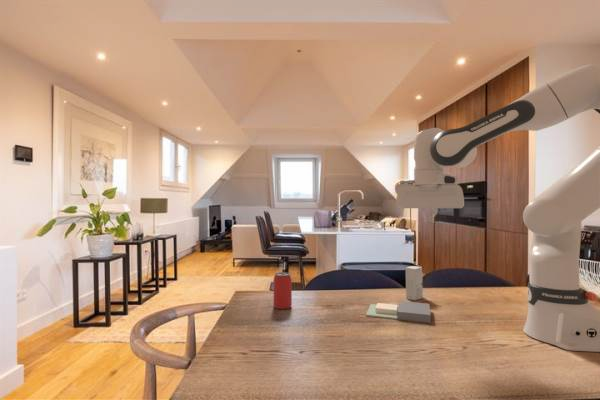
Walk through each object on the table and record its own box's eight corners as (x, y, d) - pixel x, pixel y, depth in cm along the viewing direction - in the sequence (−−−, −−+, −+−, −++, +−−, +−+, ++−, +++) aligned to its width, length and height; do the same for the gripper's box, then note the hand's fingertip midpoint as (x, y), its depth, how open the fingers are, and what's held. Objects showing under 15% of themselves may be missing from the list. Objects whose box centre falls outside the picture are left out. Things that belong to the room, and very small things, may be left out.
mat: (399, 308, 116) (399, 306, 116) (397, 319, 105) (397, 317, 105) (370, 305, 120) (370, 303, 120) (365, 316, 108) (365, 314, 108)
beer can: (292, 304, 121) (292, 272, 121) (290, 310, 115) (290, 276, 115) (275, 304, 122) (275, 271, 122) (272, 309, 115) (271, 275, 116)
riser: (429, 311, 113) (429, 303, 113) (430, 323, 101) (430, 315, 101) (399, 308, 116) (399, 301, 116) (397, 319, 105) (397, 311, 105)
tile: (398, 309, 113) (397, 304, 114) (397, 314, 108) (396, 310, 108) (377, 307, 116) (377, 302, 116) (375, 312, 110) (375, 307, 110)
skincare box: (416, 300, 125) (415, 269, 125) (405, 298, 128) (404, 267, 128) (423, 297, 129) (423, 266, 129) (412, 295, 132) (412, 265, 132)
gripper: (394, 180, 105) (394, 222, 105) (464, 177, 98) (465, 223, 98) (395, 181, 111) (396, 221, 111) (462, 179, 104) (462, 222, 104)
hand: (429, 222), depth 105 cm, fingers closed
